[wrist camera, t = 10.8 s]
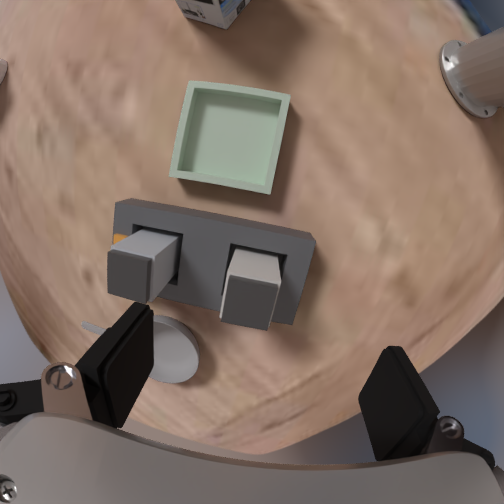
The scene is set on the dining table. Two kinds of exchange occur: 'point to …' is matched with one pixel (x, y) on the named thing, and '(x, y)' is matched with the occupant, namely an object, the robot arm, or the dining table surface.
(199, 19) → the light bulb box
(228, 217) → the strip
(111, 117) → the dining table surface
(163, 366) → the saucepan
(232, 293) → the plug
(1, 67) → the white cup
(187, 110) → the tray
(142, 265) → the light grey peg
